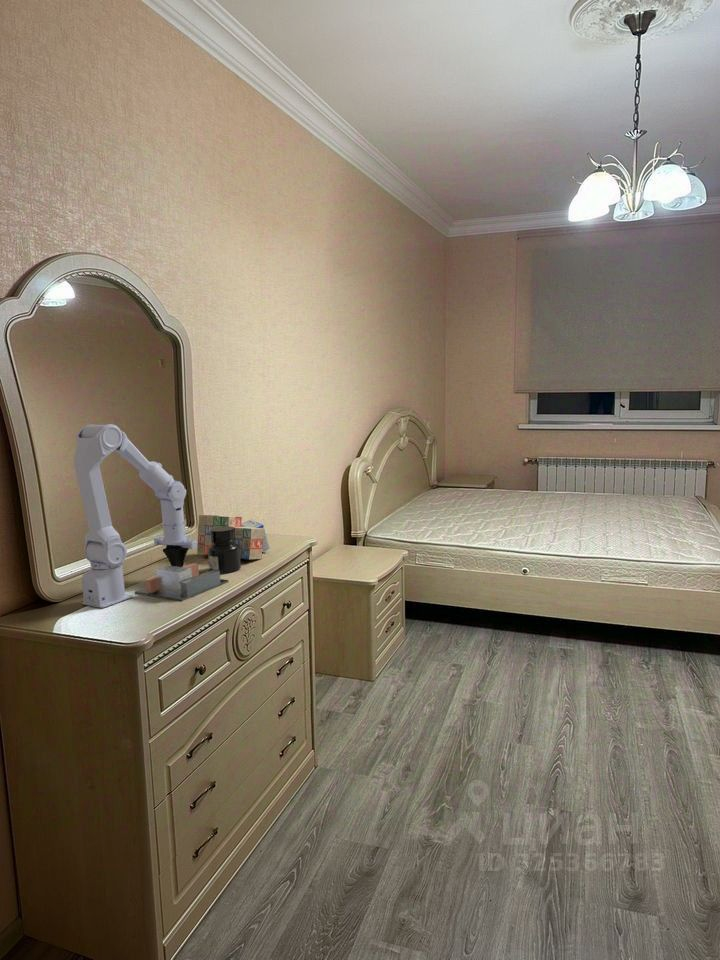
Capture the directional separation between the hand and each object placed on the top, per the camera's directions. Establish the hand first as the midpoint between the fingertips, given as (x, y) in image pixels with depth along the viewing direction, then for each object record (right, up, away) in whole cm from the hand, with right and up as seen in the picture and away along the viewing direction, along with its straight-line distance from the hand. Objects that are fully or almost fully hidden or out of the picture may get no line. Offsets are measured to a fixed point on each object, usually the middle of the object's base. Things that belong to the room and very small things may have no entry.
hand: (178, 572), depth 185 cm
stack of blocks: (+10, +2, +20) cm, 22 cm away
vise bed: (+4, -3, -9) cm, 10 cm away
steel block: (+3, -3, -14) cm, 14 cm away
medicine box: (+18, +4, +26) cm, 32 cm away
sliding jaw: (+1, -2, -7) cm, 7 cm away
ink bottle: (+12, -1, +7) cm, 14 cm away
